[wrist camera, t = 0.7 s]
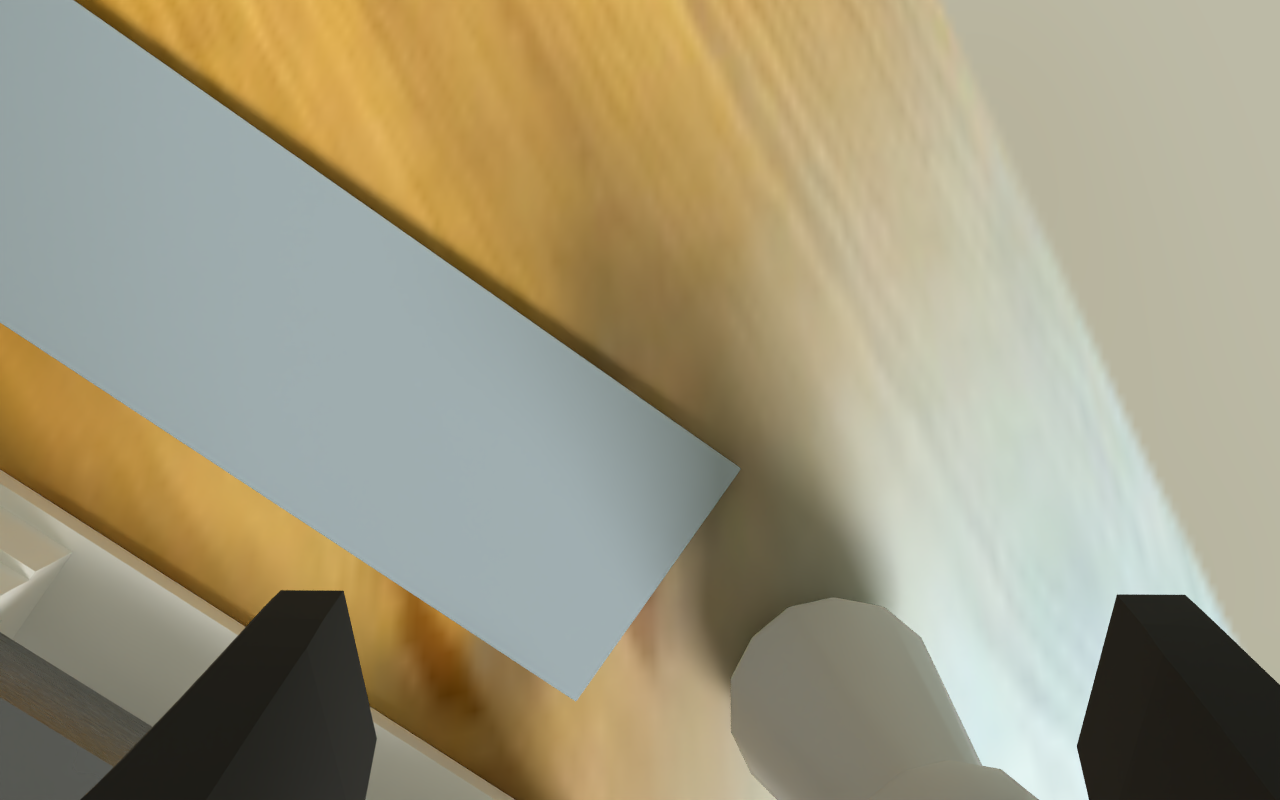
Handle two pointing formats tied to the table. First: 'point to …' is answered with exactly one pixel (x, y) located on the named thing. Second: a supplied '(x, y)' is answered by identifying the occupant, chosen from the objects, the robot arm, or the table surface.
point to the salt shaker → (853, 712)
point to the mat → (329, 353)
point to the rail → (55, 730)
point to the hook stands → (155, 636)
